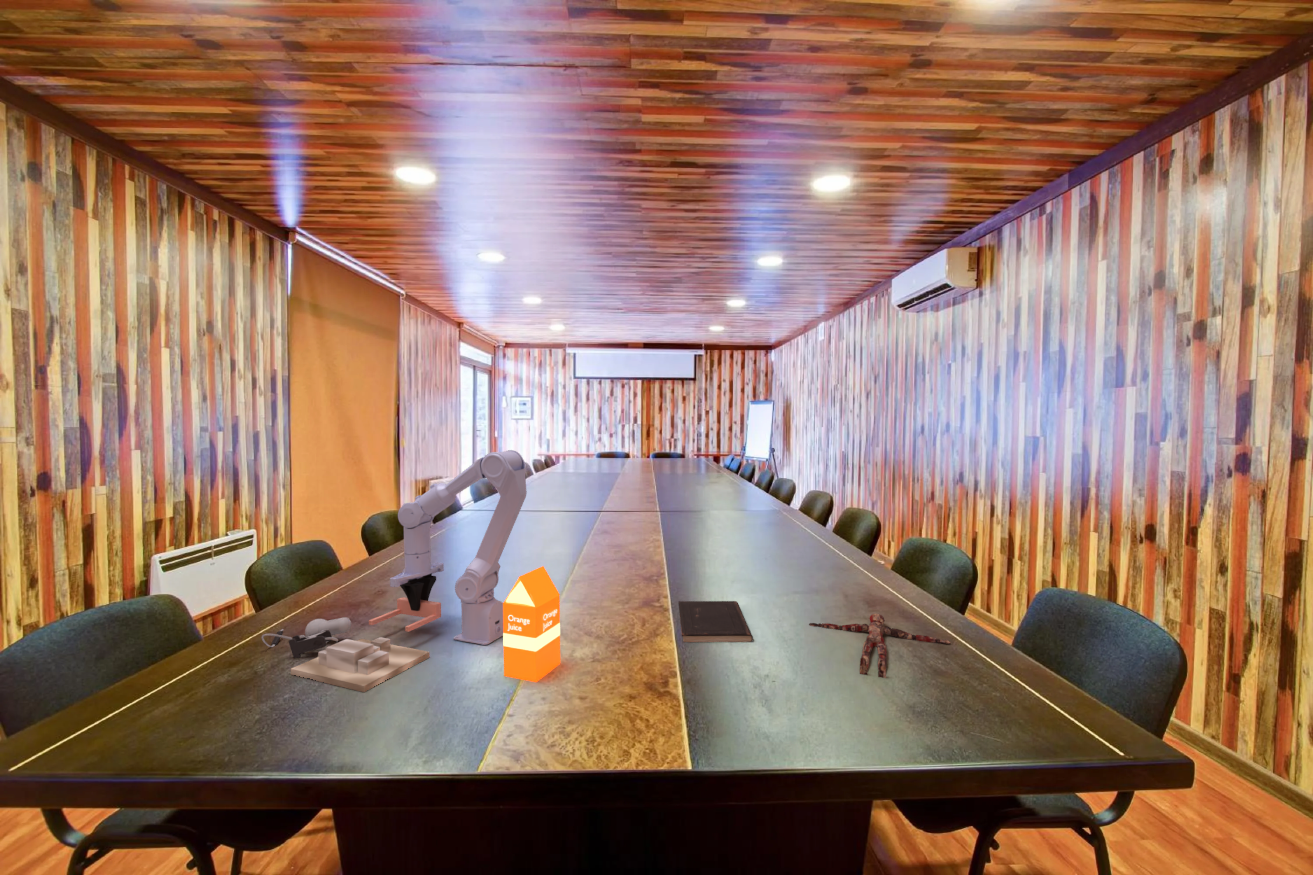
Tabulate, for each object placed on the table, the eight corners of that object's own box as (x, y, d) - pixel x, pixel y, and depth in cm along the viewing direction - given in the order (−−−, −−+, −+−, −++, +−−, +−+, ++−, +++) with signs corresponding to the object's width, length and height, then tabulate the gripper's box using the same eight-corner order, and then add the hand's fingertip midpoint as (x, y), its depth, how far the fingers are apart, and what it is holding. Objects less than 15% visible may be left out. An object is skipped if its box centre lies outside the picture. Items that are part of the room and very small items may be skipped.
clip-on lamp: (251, 669, 117) (324, 655, 115) (242, 642, 117) (315, 627, 114) (293, 642, 129) (360, 628, 126) (285, 617, 128) (352, 603, 126)
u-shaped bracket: (402, 610, 132) (402, 597, 132) (441, 616, 128) (440, 602, 128) (368, 624, 123) (368, 609, 123) (408, 631, 119) (408, 616, 119)
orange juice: (503, 675, 107) (501, 575, 106) (529, 657, 115) (528, 564, 114) (537, 682, 104) (535, 579, 103) (561, 663, 112) (560, 567, 111)
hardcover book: (681, 644, 122) (681, 634, 122) (678, 609, 145) (678, 601, 145) (752, 644, 122) (752, 634, 122) (738, 609, 145) (738, 600, 145)
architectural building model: (361, 643, 123) (360, 621, 123) (429, 657, 115) (429, 633, 115) (290, 674, 108) (290, 648, 108) (364, 692, 101) (363, 664, 100)
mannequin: (772, 640, 125) (772, 622, 125) (847, 612, 142) (847, 596, 141) (878, 685, 103) (878, 663, 103) (951, 646, 120) (951, 627, 120)
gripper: (427, 544, 137) (429, 597, 138) (379, 557, 124) (380, 616, 124) (449, 546, 135) (450, 600, 135) (402, 560, 121) (404, 620, 121)
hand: (418, 608), depth 129 cm, fingers closed on u-shaped bracket, 2 cm apart
